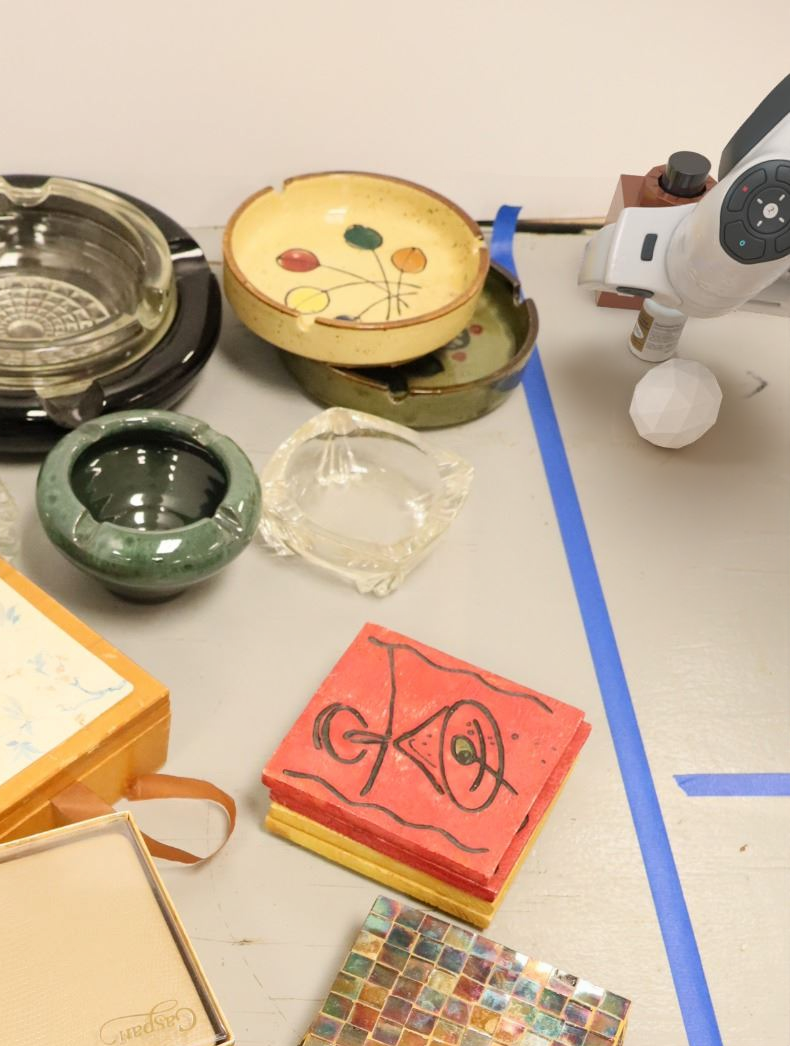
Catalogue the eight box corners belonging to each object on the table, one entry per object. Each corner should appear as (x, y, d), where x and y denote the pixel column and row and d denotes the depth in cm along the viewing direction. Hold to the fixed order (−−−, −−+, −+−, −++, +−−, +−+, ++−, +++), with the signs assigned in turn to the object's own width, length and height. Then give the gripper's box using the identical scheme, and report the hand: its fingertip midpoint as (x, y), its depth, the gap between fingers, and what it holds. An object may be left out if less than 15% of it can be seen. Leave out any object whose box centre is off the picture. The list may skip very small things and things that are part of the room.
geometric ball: (670, 455, 136) (748, 406, 131) (644, 473, 131) (725, 422, 125) (629, 386, 136) (706, 334, 130) (601, 401, 130) (680, 347, 125)
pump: (699, 178, 138) (709, 152, 136) (703, 202, 136) (713, 176, 134) (657, 174, 138) (667, 148, 136) (661, 198, 136) (670, 172, 134)
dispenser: (689, 268, 148) (730, 165, 138) (696, 316, 143) (739, 213, 134) (592, 259, 148) (626, 155, 139) (596, 306, 144) (632, 203, 135)
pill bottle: (626, 332, 142) (653, 261, 135) (671, 337, 142) (700, 266, 135) (628, 360, 139) (655, 289, 133) (673, 365, 139) (703, 295, 133)
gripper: (852, 237, 119) (800, 274, 133) (604, 204, 122) (577, 243, 135) (831, 317, 121) (781, 345, 134) (587, 282, 123) (562, 313, 136)
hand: (677, 294), depth 135 cm, fingers open, 8 cm apart
